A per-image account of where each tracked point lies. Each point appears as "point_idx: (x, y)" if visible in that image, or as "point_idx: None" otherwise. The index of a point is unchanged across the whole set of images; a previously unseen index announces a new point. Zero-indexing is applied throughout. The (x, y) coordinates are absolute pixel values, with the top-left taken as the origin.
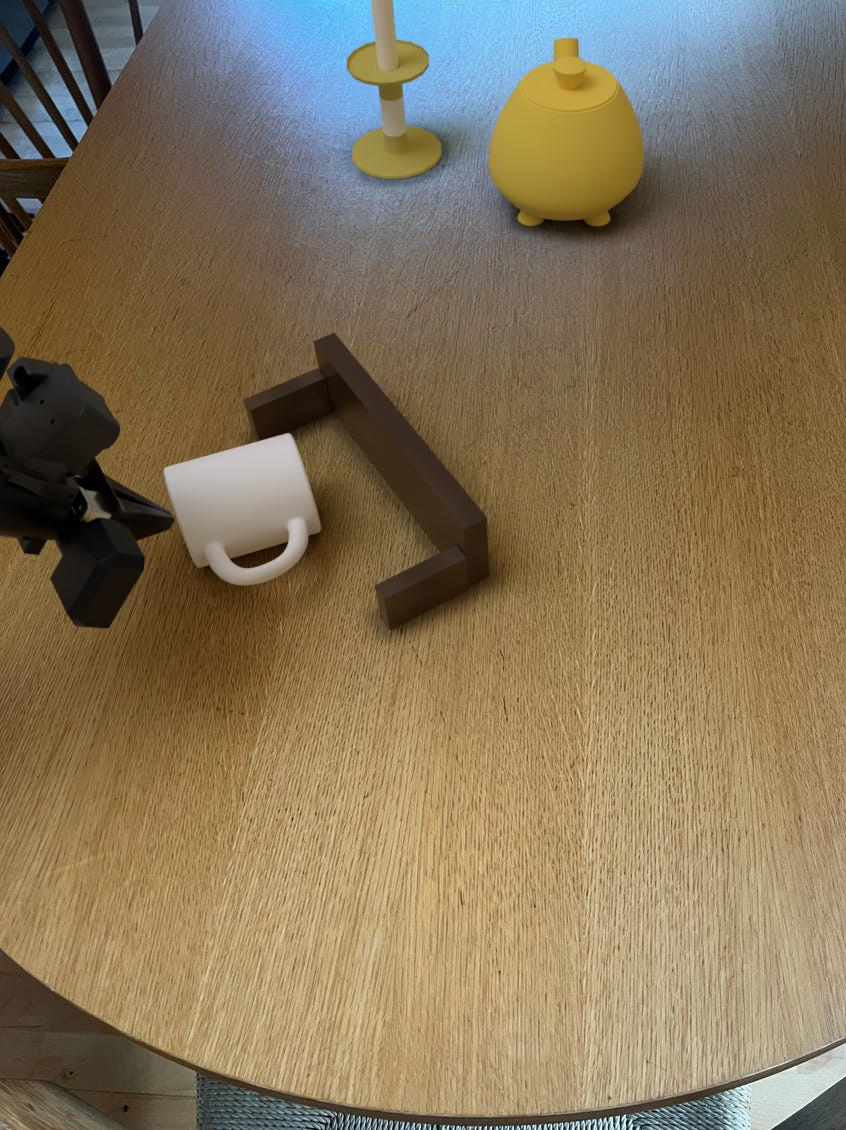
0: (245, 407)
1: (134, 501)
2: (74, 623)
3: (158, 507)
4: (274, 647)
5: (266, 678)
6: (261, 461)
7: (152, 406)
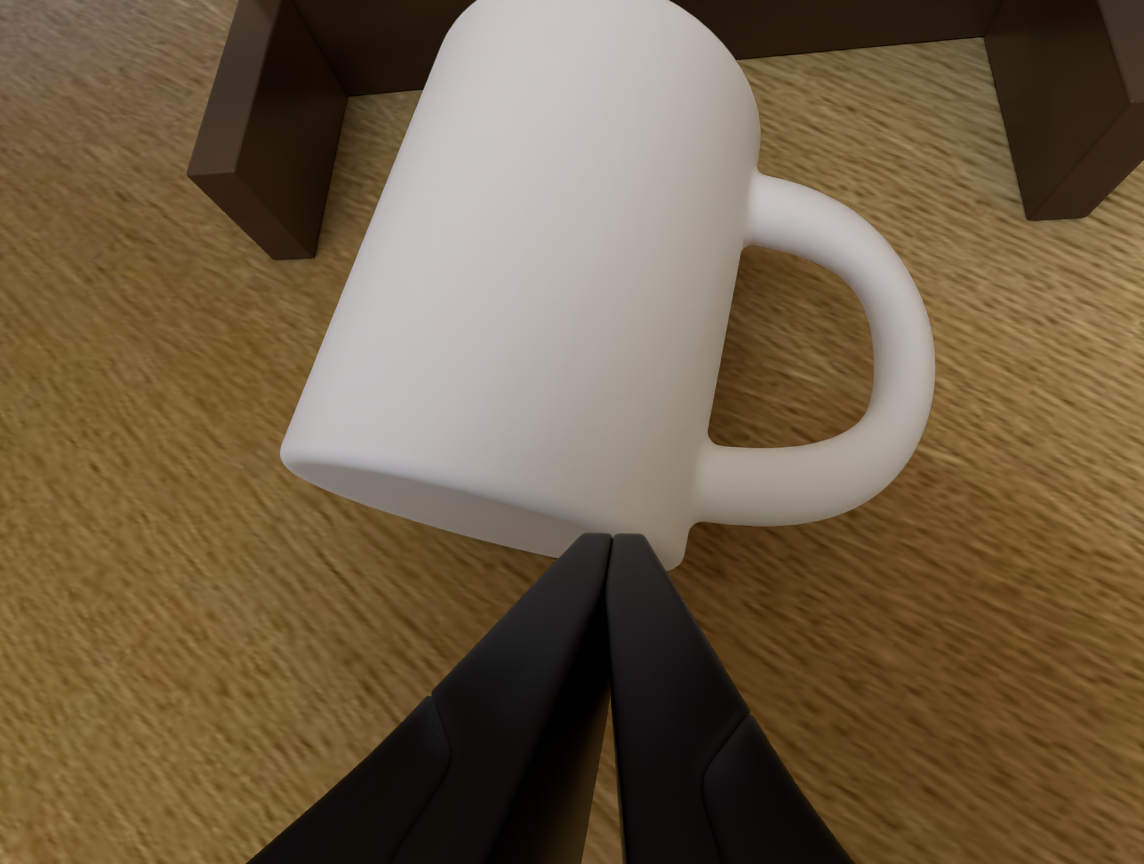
0: (209, 195)
1: (553, 720)
2: None
3: (580, 576)
4: (1006, 502)
5: (1122, 575)
6: (561, 85)
7: (6, 435)
